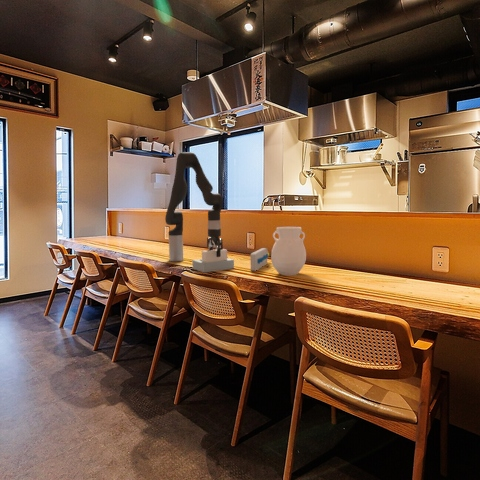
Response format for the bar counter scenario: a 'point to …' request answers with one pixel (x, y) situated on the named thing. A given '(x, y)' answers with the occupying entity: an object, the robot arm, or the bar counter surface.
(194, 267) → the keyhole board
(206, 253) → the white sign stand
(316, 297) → the bar counter surface
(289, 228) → the white vase
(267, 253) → the decorative sign
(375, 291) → the bar counter surface
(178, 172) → the robot arm
